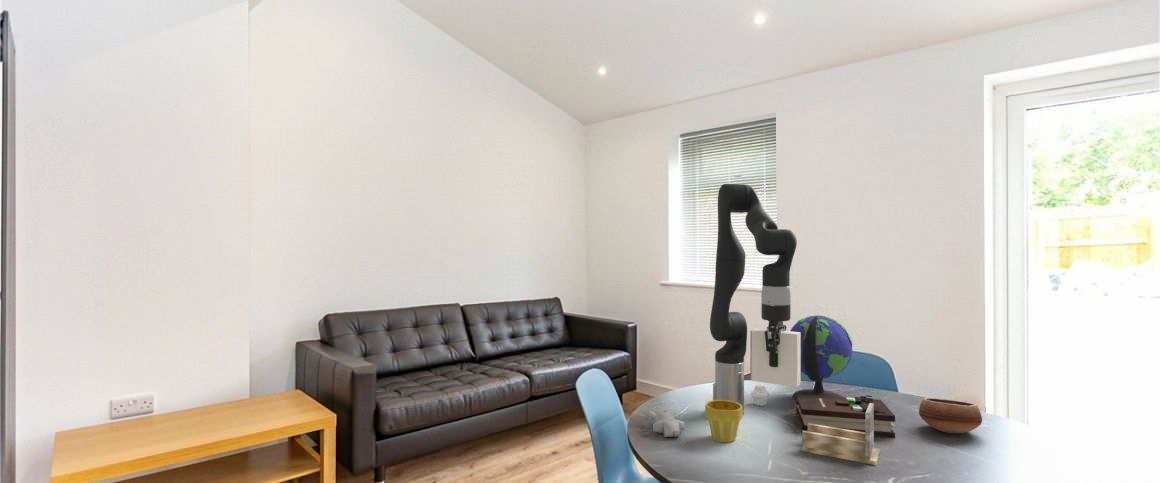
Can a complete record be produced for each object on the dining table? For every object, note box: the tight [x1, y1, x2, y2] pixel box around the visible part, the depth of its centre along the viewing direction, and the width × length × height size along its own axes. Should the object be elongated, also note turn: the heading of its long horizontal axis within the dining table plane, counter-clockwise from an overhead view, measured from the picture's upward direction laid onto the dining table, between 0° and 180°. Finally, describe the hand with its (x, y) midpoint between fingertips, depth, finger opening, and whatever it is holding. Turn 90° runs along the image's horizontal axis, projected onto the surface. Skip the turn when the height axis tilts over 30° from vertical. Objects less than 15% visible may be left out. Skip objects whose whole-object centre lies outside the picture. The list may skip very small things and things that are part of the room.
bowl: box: [918, 397, 983, 434], centre depth 167 cm, size 16×16×10 cm
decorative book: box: [790, 394, 896, 439], centre depth 174 cm, size 19×8×30 cm
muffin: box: [750, 384, 771, 407], centre depth 195 cm, size 6×6×7 cm
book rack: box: [801, 403, 881, 466], centre depth 152 cm, size 18×10×13 cm, turn 57°
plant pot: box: [704, 399, 743, 443], centre depth 163 cm, size 10×10×10 cm
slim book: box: [749, 328, 802, 388], centre depth 154 cm, size 12×4×14 cm, turn 57°
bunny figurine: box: [646, 409, 685, 438], centre depth 169 cm, size 10×5×15 cm
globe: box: [789, 314, 854, 401], centre depth 202 cm, size 22×22×30 cm
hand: (775, 364), depth 154 cm, fingers closed on slim book, 4 cm apart
